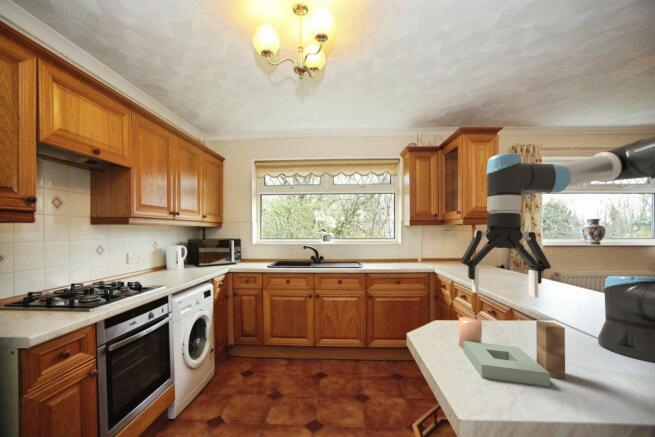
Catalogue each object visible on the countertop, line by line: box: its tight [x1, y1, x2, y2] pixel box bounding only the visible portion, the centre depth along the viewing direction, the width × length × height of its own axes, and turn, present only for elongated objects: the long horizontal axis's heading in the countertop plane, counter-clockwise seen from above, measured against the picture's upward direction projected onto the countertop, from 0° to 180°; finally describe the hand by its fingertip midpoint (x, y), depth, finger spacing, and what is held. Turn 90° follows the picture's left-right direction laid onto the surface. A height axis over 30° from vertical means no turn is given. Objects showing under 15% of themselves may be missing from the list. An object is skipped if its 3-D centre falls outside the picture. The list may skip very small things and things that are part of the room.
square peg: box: [535, 320, 566, 380], centre depth 65 cm, size 4×4×12 cm
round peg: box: [458, 316, 483, 350], centre depth 79 cm, size 6×6×8 cm
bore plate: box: [463, 341, 551, 388], centre depth 67 cm, size 14×14×3 cm
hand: (503, 294), depth 68 cm, fingers open, 13 cm apart
